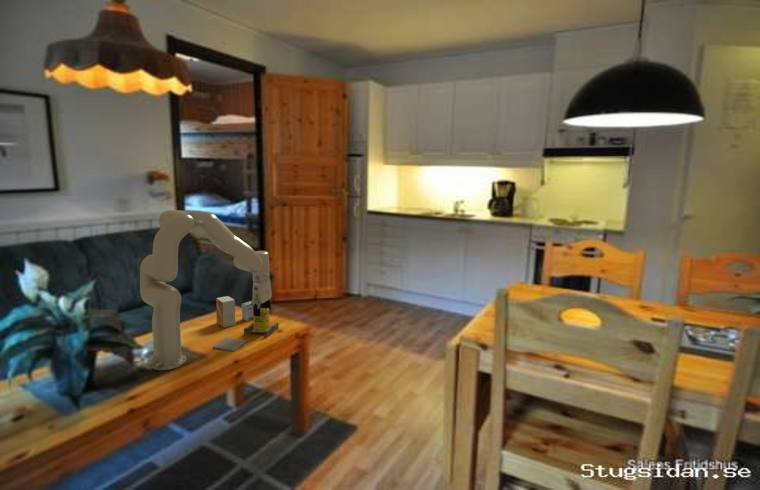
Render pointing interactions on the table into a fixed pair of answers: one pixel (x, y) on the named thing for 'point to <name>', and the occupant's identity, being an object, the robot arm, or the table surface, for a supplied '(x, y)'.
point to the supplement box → (261, 321)
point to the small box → (225, 311)
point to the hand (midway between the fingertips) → (262, 312)
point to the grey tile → (230, 344)
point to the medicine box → (247, 311)
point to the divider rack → (266, 332)
